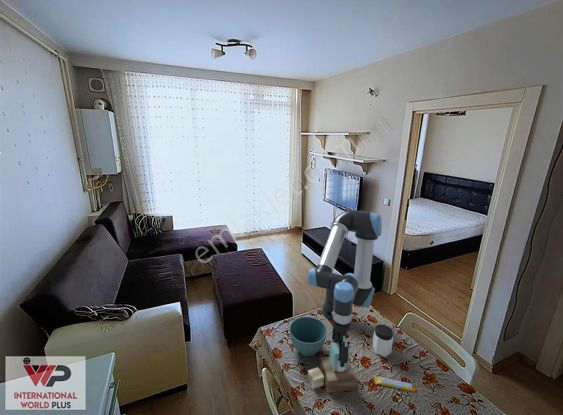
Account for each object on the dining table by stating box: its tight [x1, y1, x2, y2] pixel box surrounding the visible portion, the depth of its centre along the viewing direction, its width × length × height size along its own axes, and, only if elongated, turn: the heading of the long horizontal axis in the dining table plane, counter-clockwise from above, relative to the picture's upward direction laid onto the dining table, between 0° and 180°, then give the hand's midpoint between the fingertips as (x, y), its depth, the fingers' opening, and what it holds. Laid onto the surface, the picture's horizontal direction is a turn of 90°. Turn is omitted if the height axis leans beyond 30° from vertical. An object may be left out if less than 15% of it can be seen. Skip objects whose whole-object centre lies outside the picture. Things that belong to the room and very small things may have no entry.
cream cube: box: [307, 366, 325, 390], centre depth 111 cm, size 5×5×5 cm
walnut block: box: [320, 355, 357, 393], centre depth 113 cm, size 12×12×6 cm
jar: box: [371, 323, 394, 358], centre depth 128 cm, size 9×8×12 cm
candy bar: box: [373, 374, 417, 393], centre depth 111 cm, size 17×4×2 cm, turn 76°
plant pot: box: [289, 316, 328, 357], centre depth 128 cm, size 18×18×12 cm
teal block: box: [329, 342, 350, 371], centre depth 111 cm, size 6×6×9 cm
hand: (338, 363), depth 112 cm, fingers open, 6 cm apart
